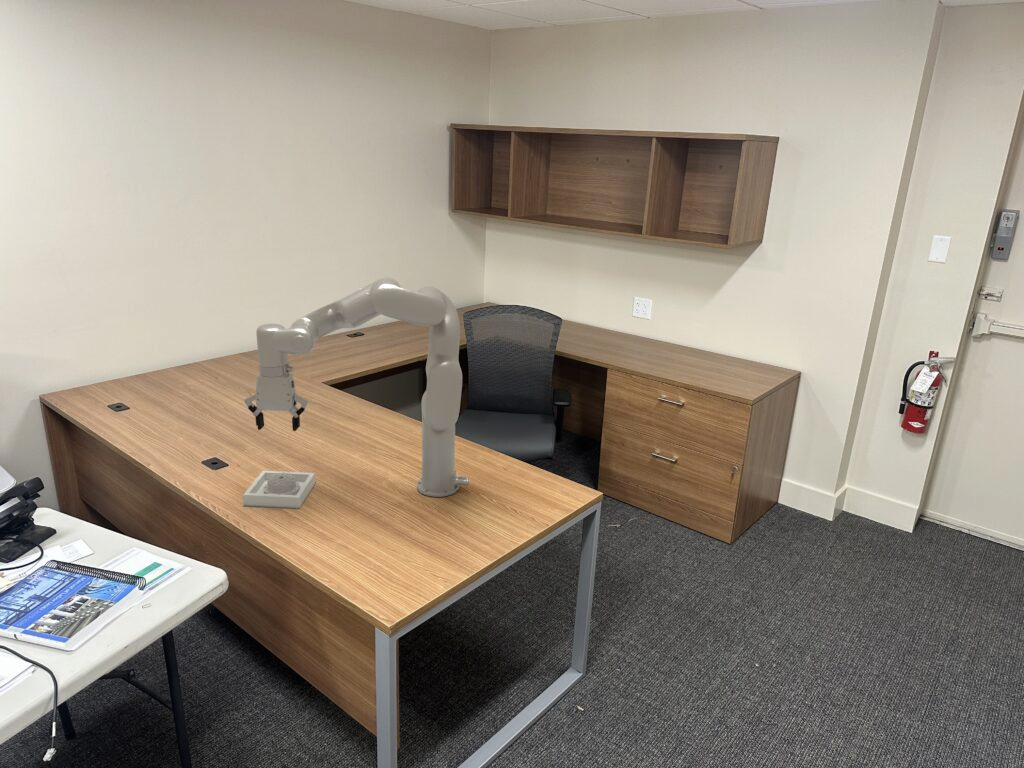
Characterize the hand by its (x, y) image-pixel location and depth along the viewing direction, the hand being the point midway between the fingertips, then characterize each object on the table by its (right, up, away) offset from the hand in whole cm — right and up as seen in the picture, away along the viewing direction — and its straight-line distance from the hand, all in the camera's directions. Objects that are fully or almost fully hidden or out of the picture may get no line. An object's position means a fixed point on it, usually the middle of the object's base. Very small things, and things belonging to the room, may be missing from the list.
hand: (278, 428), depth 199 cm
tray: (-1, -19, +6) cm, 20 cm away
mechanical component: (-1, -18, +6) cm, 19 cm away
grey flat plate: (-1, -19, +6) cm, 20 cm away
